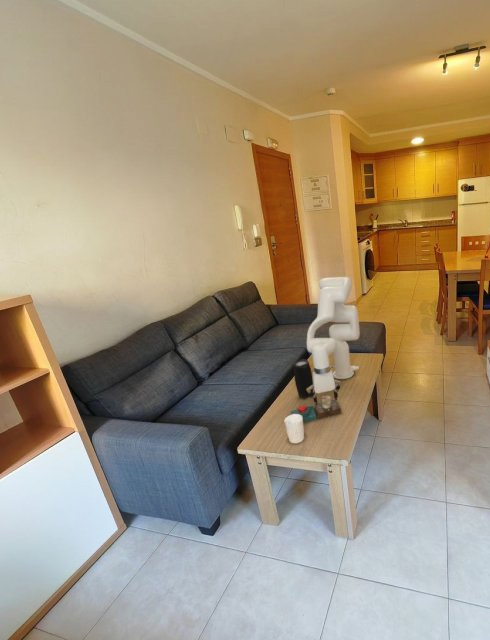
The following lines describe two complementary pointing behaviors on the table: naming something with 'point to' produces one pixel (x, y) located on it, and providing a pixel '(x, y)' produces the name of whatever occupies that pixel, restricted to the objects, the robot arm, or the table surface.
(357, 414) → the table surface
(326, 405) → the dial
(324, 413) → the dial panel
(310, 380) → the portable speaker
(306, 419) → the button block
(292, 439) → the white cup
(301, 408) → the button
